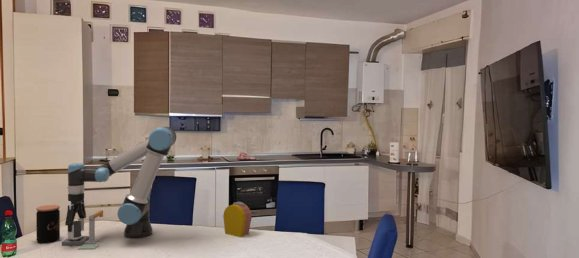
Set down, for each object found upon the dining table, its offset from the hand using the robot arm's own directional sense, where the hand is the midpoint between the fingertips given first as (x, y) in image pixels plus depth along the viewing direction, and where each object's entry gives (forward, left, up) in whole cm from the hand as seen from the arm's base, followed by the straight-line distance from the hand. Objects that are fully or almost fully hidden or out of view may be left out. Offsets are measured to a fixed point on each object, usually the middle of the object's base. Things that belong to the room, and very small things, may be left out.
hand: (76, 233), depth 207 cm
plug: (0, 0, -5) cm, 5 cm away
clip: (-8, -6, +6) cm, 12 cm away
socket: (-3, 0, -5) cm, 5 cm away
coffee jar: (+16, -4, -5) cm, 17 cm away
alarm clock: (-84, -14, -5) cm, 85 cm away
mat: (-10, +7, -5) cm, 13 cm away
